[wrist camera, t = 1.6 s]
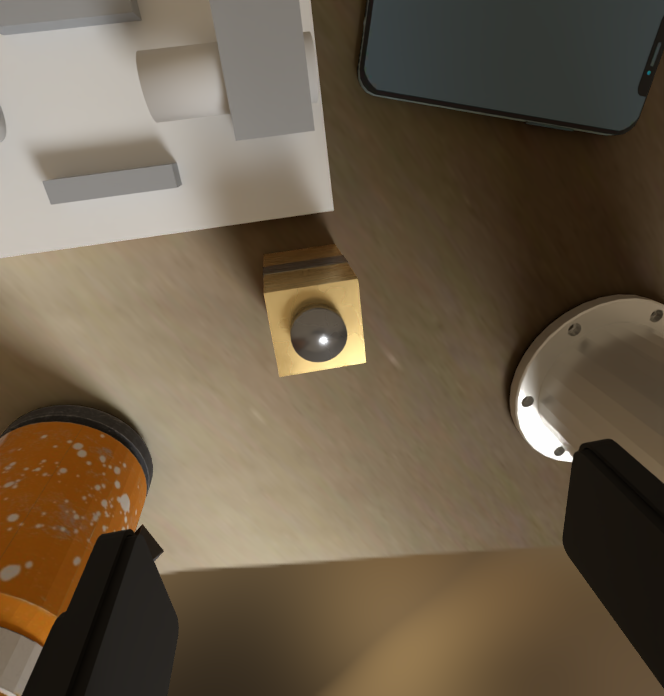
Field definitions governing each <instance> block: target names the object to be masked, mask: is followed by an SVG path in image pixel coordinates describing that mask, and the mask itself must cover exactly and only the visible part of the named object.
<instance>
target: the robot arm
mask: <svg viewBox="0 0 664 696" xmlns="http://www.w3.org/2000/svg"><path fill="white" fill-rule="evenodd" d="M509 401H510V411H511V416H512V419H513V422H514V425H515V427H516V429H517V430H518V431H519V433H520V434H521V436H522V437H523V438H524V439H525V440H526V442H527V443H528V444H529V445H530V446H531V447H532V448H533V449H535V450H536V451H538V452H539V453H541V454H542V455H544V456H546V457H549V458H551V459H554V460H559V461H566V462H572V468H571V475H570V483H569V491H568V499H567V507H566V514H565V522H564V530H563V545H564V548H565V551H566V553H567V554H568V556H569V558H570V559H571V560H572V562H573V563H574V565H575V566H576V567H577V569H578V570H579V572H580V573H581V574H582V576H583V577H584V578H585V580H586V581H587V583H588V584H589V585H590V587H591V588H592V590H593V591H594V592H595V594H596V595H597V597H598V598H599V599H600V601H601V602H602V603H603V605H604V606H605V608H606V609H607V610H608V612H609V613H610V615H611V616H612V617H613V619H614V620H615V621H616V623H617V624H618V626H619V627H620V628H621V630H622V631H623V633H624V634H625V635H626V637H627V638H628V639H629V641H630V642H631V644H632V645H633V646H634V648H635V649H636V651H637V652H638V653H639V655H640V656H641V658H642V659H643V660H644V662H645V663H646V664H647V666H648V667H649V669H650V670H651V671H652V673H653V674H654V675H655V677H656V678H657V680H658V681H659V683H660V684H661V685H662V687H663V688H664V305H663V304H661V303H659V302H656V301H654V300H652V299H649V298H645V297H641V296H637V295H621V294H618V295H612V296H606V297H600V298H597V299H595V300H592V301H589V302H586V303H583V304H581V305H579V306H577V307H575V308H574V309H572V310H570V311H568V312H566V313H565V314H563V315H562V316H561V317H559V318H558V319H557V320H555V321H554V322H552V323H551V324H550V325H549V326H548V327H547V328H546V329H545V330H544V331H543V332H542V333H541V334H540V335H539V336H538V337H537V338H536V339H535V340H534V341H533V343H532V344H531V345H530V347H529V348H528V350H527V351H526V352H525V354H524V355H523V357H522V359H521V361H520V363H519V365H518V367H517V369H516V372H515V375H514V378H513V381H512V384H511V391H510V400H509ZM178 628H179V627H178V618H177V615H176V613H175V610H174V608H173V606H172V603H171V601H170V599H169V596H168V594H167V591H166V589H165V587H164V584H163V582H162V579H161V577H160V575H159V572H158V570H157V567H156V565H155V563H154V560H153V558H152V555H151V553H150V551H149V548H148V546H147V543H146V541H145V539H144V537H143V535H141V534H139V535H135V533H134V531H133V530H131V529H126V530H121V531H115V532H110V533H105V534H101V535H100V536H99V537H98V539H97V540H96V543H95V545H94V547H93V550H92V552H91V554H90V557H89V559H88V561H87V564H86V566H85V568H84V571H83V573H82V575H81V578H80V580H79V582H78V585H77V587H76V589H75V592H74V594H73V597H72V599H71V601H70V604H69V606H68V608H67V611H65V612H63V613H62V614H61V615H60V616H59V617H58V618H57V619H56V621H55V622H54V624H53V626H52V628H51V630H50V632H49V634H48V637H47V639H46V641H45V643H44V646H43V648H42V650H41V653H40V655H39V657H38V659H37V662H36V664H35V666H34V668H33V671H32V673H31V675H30V677H29V680H28V682H27V684H26V686H25V689H24V691H23V693H22V695H21V696H167V694H168V689H169V683H170V678H171V672H172V666H173V661H174V655H175V650H176V644H177V639H178Z"/></svg>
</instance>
